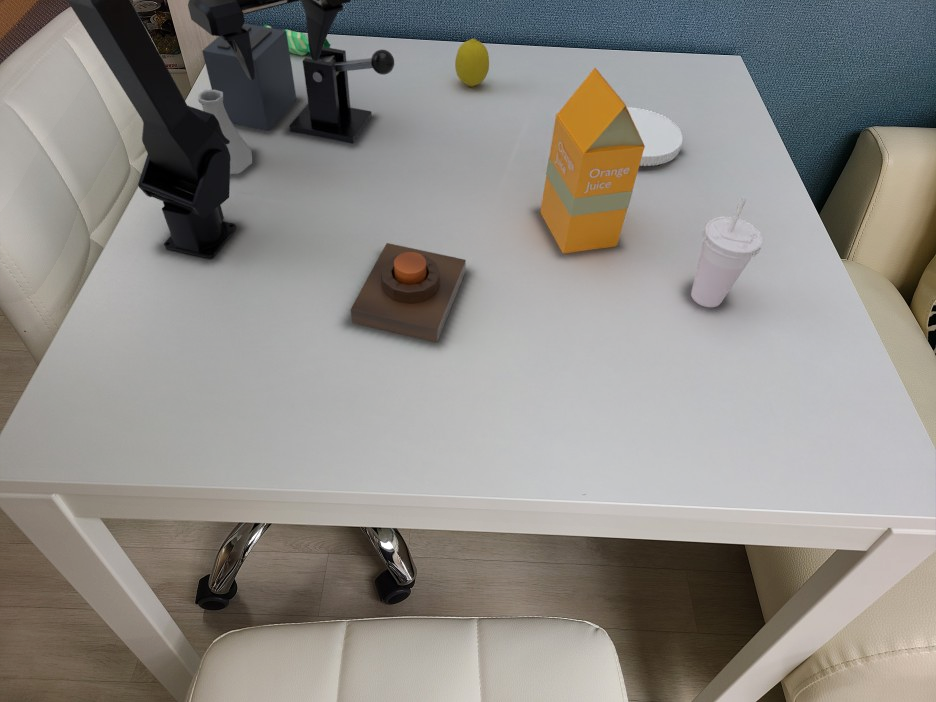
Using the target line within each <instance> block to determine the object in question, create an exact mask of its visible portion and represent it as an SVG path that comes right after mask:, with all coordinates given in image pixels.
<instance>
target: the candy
mask: <svg viewBox="0 0 936 702" xmlns="http://www.w3.org/2000/svg"><path fill="white" fill-rule="evenodd" d="M263 27H269V28H272V27H271V26H270V25H268V24H267V23H265V24H264V25H263ZM284 30H286V32H287V39H288V46H289V52H290V54H293V55H297V56H302V57H304V56H306V55H307V54H308V53H310V50H309V43H308V36H306V34H305V33H303V32H299V31H294V30H290V29H284ZM323 47H328V48H331V44H330V42H329V40H328V39H327V38H326V40H325V42H324V45H323Z"/></svg>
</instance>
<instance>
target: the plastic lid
mask: <svg viewBox="0 0 936 702" xmlns="http://www.w3.org/2000/svg"><path fill="white" fill-rule="evenodd" d="M626 107H627V109H628V111H629V113H630V115H631V118H632V120H633V122H634V124H635V126H636V128H637V130H638V133H639V135H640V137H641V139H642V141H643V143H644V146H645V147H644V151H643V155H642V158H641V162H640V165H639V167H642V166H643V167H647V166H648V167H651V166H658V165H662V164H663V165H664V164H665V163H668V162H671V161H672V160H674V159H675V158H676V157H677V156H678V155H679V153H680V151H681V148H682V144H683V142H684V135H683V133H682V132H683V131H682V130H681V129H680V127H679V126H678V125H677V124H676V123H675V122H674V121H673V120H671V118H668V116H667V117H666V116H665V115H662V114H661V113H658V112H655V111H652V110H650V109H648V110H647V109H645V108H644V109H643V108H639V107H634V106H632V107H631V106H626Z"/></svg>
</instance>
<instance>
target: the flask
mask: <svg viewBox="0 0 936 702" xmlns="http://www.w3.org/2000/svg"><path fill="white" fill-rule="evenodd" d="M197 101H198V103H199V104H201V106H202V111H205V112H208V113H211V114H214V115H215V117H216V118H217V120H218V121H219V124H220V127H221V130H222V133H223V134H224V136H225V137H226V138H227V139H228V140H229V141H230V143H229V144H226V146H227V147H228V150H229V153H230V158H231V161H230V175H237V174H241V173H242V172H244V171H245V170H246V169H247V168H248V167H249V166H251V165H252V164H253V152H252V150H251V149H250V147H249V146H248V144H247V142H246V141H245V140H244V139H243V137H242V135H241V134H240V133H239V132H238V130H237V128H236V127H235V124H232V122H231V121H230V119H229V117H228V115H227V113H226V110H225V108H224V105H223V92H221V91H218V90H212V89H204V90H203V91H201V92H199V93H198V95H197Z"/></svg>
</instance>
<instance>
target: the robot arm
mask: <svg viewBox="0 0 936 702" xmlns="http://www.w3.org/2000/svg"><path fill="white" fill-rule="evenodd" d="M66 1H67V3H68V4H69V6H70V7H71V9H72V11H73V12H74V14H75V15H76V17H77V19H78V20H79V22H80V23H81V25H82V27H83V28H84V30H85V31H86V33H87V35H88V36H89V38H90V39H91V41H92V42H93V44H94V46H95V47H96V50H97V51H98V52H99V54H100V55H101V57H102V58H103V61H104V62H105V63H106V65H107V66H108V67H109V70H110V71H111V72H112V74H113V76H114V77H115V79H116V80H117V82H118V84H119V85H120V87H121V88H122V90H123V92H124V93H125V95H126V96H127V98H128V99H129V101H130V103H131V104H132V107H134V109H135V111H136V112H137V114H138V115H139V117H140V119H141V120H142V124H143V125H142V132H141V133H142V134H141V141H142V144H143V146H144V149H145V151H146V153H147V155H146V159H145V161H144V165H143V168H142V170H141V174H140V176H139V180H138V183H137V186H138V188H139V189H140V190H141V192H142V193H143V194H144V195H145V196H147V197H148V198H154V199H156V200H158V201H161V202H162V204H163V207H162V208H161V211H162V214H163V216H164V219H165V222H166V224H167V227H168V230H169V233H170V236H169V237H168V238H167V239H166V241H164V243H163V246H164V249H165V250H170V251H174V252H178V253H183V254H187V255H192V256H196V257H201V258H205V259H213V258H214V257H215V256H216V255H217V253H218V252H219V251H220V250H221V249H222V247H223V246H224V245H225V244H226V242H227V241H228V240H229V239H230V237H231V236H232V235H233V233H234V232H235V231H236V229H237V226H236V224H235V223H233V222H228V221H225V217H224V213H223V210H222V206H221V205H222V204H223V203H225V202H226V201H227V200H228V199H230V189H231V188H230V187H231V185H230V184H231V174H230V161H231V158H230V153H229V150H228V147H227V146H226V144H229V143H230V141H229V140H228V139H227V138H226V137H225V136H224V134H223V133H222V130H221V127H220V124H219V121H218V120H217V118H216V117H215V115H214V114H211V113H208V112H205V111H203V109H199V108H195V107H193V106H190V105H188V104H187V102H186V100H185V98H184V96H183V94H182V93H181V91H180V89H179V87H178V86H177V83H176V81H175V80H174V78H173V76H172V74H171V73H170V71H169V69H168V66H167V65H166V63H165V61H164V60H163V58H162V55H161V54H160V52H159V50H158V48H157V46H156V45H155V43H154V41H153V39H152V37H151V36H150V34H149V31H148V30H147V28H146V26H145V24H144V22H143V21H142V18H141V17H140V15H139V13H138V11H137V9H136V8H135V6H134V4H133V2H132V0H66ZM299 1H300V2H301V5H302V7H303V10H304V13H305V20H306V30H307V39H308V43H309V50H310V52H309V54H310V59H313V60H314V61H317V60H318V59H319V56H320V53H321V51H322V48H323V45H324V42H325V40H326V39H327V37H328V34H329V32H330V30H331V28H332V26H333V24H334V22H335V19H336V17H337V15H338V13H340V12H342V11H343V10H344V5H343V4H347V3H350V2H351V1H352V0H188V3H187V6H188V12H189V16H190V20H191V21H193V22H194V23H195V24H196V25H197V26H199V27H200V28H202V29H203V30H204V31H205V32H207V33H208V34H209V35H211V36H213V37H221V38H222V39H223V40H225V41H227V43H228V44H229V46H230V47H231V49H232V50H233V52H234V54H235V56H236V57H237V59H238V61H239V63H240V64H241V66H242V68H243V70H244V71H245V73H246V75H247V76H248V78H249V79H251V80H254V79H255V69H254V63H253V56H252V50H251V43H250V36H249V32H248V31H247V30H246V29H244V28H243V27H242V26H243V24H244V23H246V21H245V16H244V15H248V14H252V13H256V12H259V11H263V10H268V9H271V8H274V7H279V6H283V5H288V4H291V3H295V2H299Z"/></svg>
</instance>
